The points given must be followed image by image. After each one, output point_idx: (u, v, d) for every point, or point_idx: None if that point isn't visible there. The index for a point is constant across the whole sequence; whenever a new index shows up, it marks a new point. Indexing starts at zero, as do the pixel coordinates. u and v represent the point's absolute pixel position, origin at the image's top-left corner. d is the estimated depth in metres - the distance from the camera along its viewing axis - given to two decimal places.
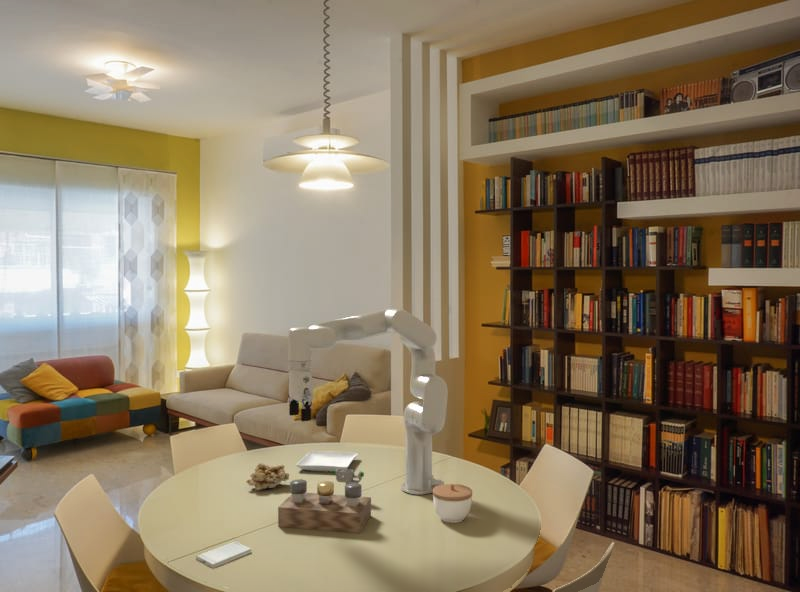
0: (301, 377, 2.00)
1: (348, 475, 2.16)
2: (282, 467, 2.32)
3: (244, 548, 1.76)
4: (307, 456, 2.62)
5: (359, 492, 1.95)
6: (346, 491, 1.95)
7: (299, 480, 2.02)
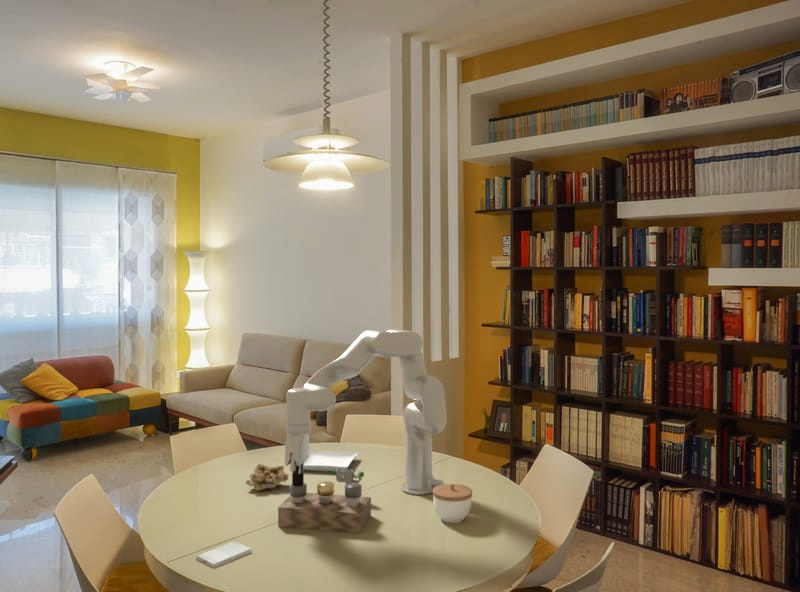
0: None
1: (348, 475, 2.16)
2: (281, 468, 2.31)
3: (244, 548, 1.77)
4: None
5: (359, 492, 1.95)
6: (346, 491, 1.95)
7: None
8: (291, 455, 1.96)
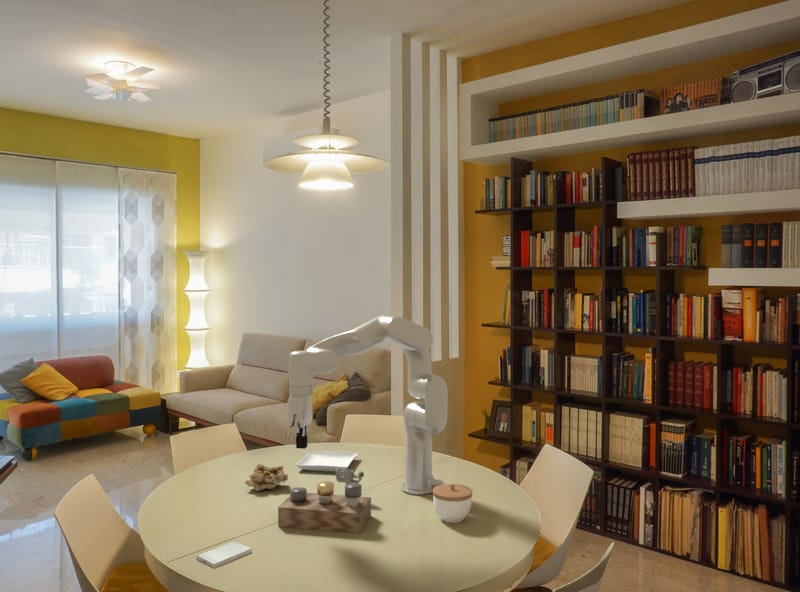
0: None
1: (348, 475, 2.16)
2: (281, 468, 2.31)
3: (244, 548, 1.77)
4: (307, 456, 2.62)
5: (359, 492, 1.95)
6: (346, 491, 1.95)
7: (299, 488, 2.02)
8: (294, 417, 1.95)
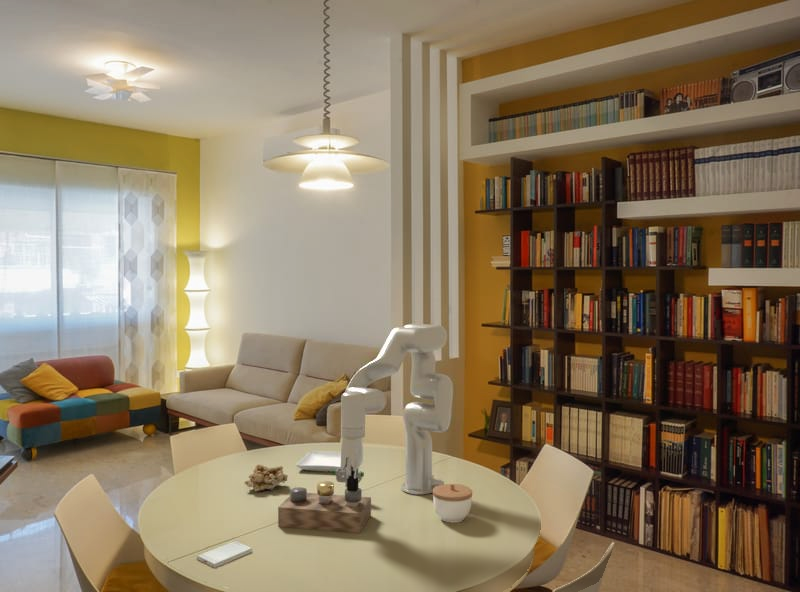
0: None
1: None
2: (281, 468, 2.31)
3: (245, 548, 1.77)
4: (307, 456, 2.62)
5: (359, 496, 1.95)
6: (346, 495, 1.95)
7: (299, 488, 2.02)
8: (347, 459, 1.92)
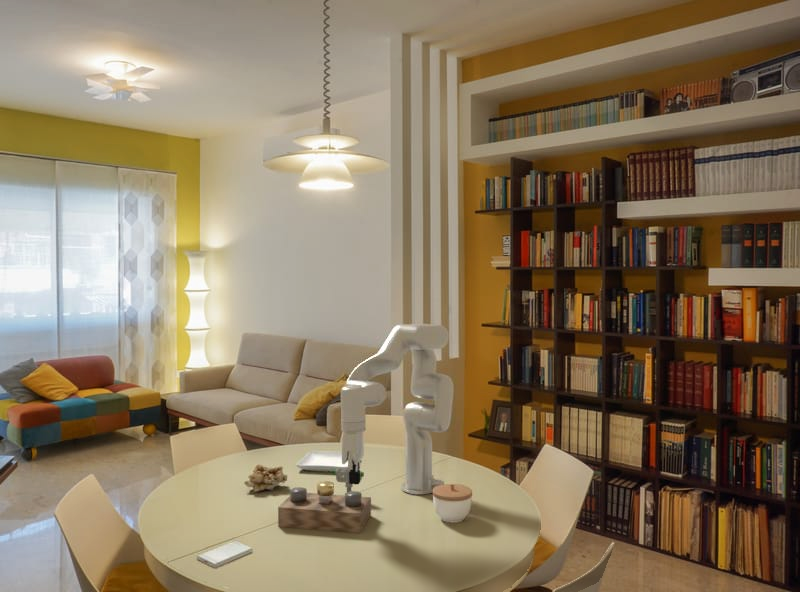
0: None
1: (348, 475, 2.16)
2: (280, 468, 2.30)
3: (245, 547, 1.77)
4: (307, 456, 2.62)
5: (359, 500, 1.95)
6: (346, 499, 1.95)
7: (299, 488, 2.02)
8: (348, 453, 1.93)
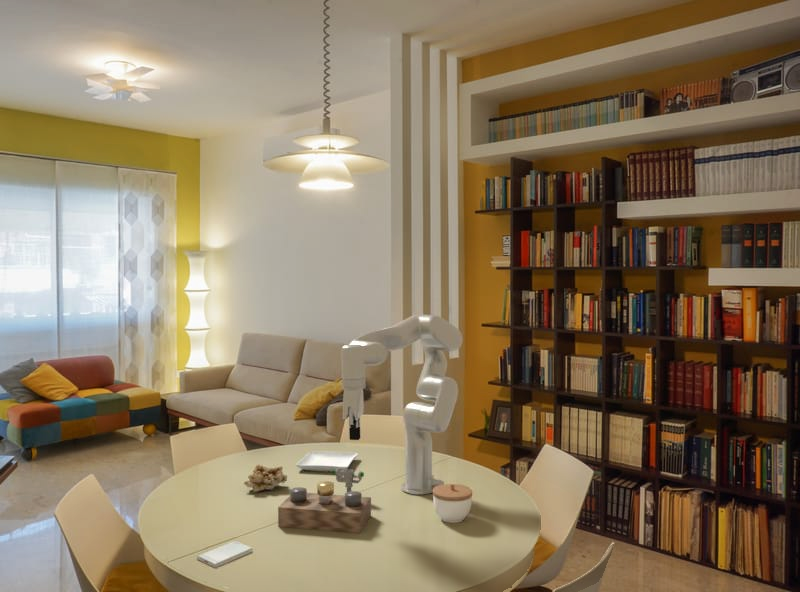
0: None
1: (348, 475, 2.16)
2: (280, 469, 2.30)
3: (245, 547, 1.77)
4: (307, 456, 2.62)
5: (359, 500, 1.95)
6: (346, 499, 1.95)
7: (299, 488, 2.02)
8: (349, 409, 1.99)
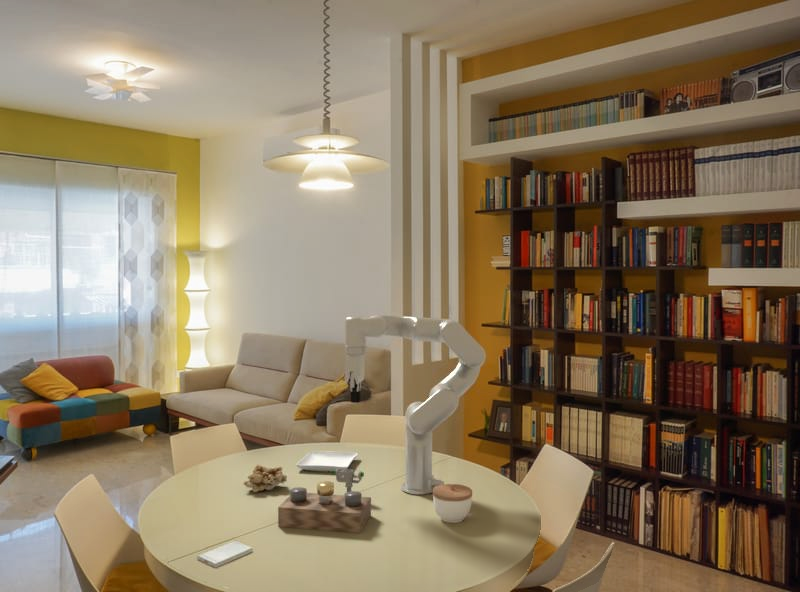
0: None
1: (348, 475, 2.16)
2: (280, 469, 2.30)
3: (245, 547, 1.77)
4: (307, 456, 2.62)
5: (359, 500, 1.95)
6: (346, 499, 1.95)
7: (299, 488, 2.02)
8: (351, 374, 2.21)
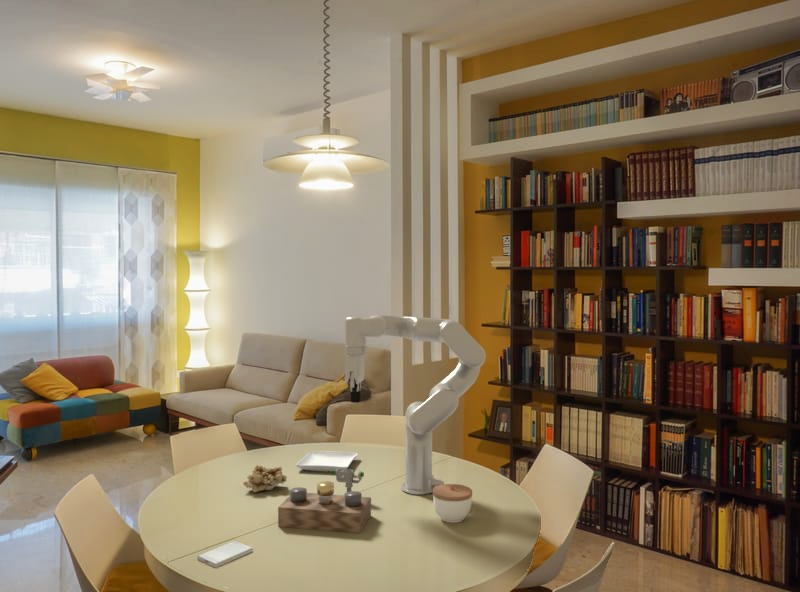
0: None
1: (348, 475, 2.16)
2: (279, 469, 2.30)
3: (245, 547, 1.77)
4: (307, 456, 2.62)
5: (359, 500, 1.95)
6: (346, 499, 1.95)
7: (299, 488, 2.02)
8: (351, 374, 2.21)
